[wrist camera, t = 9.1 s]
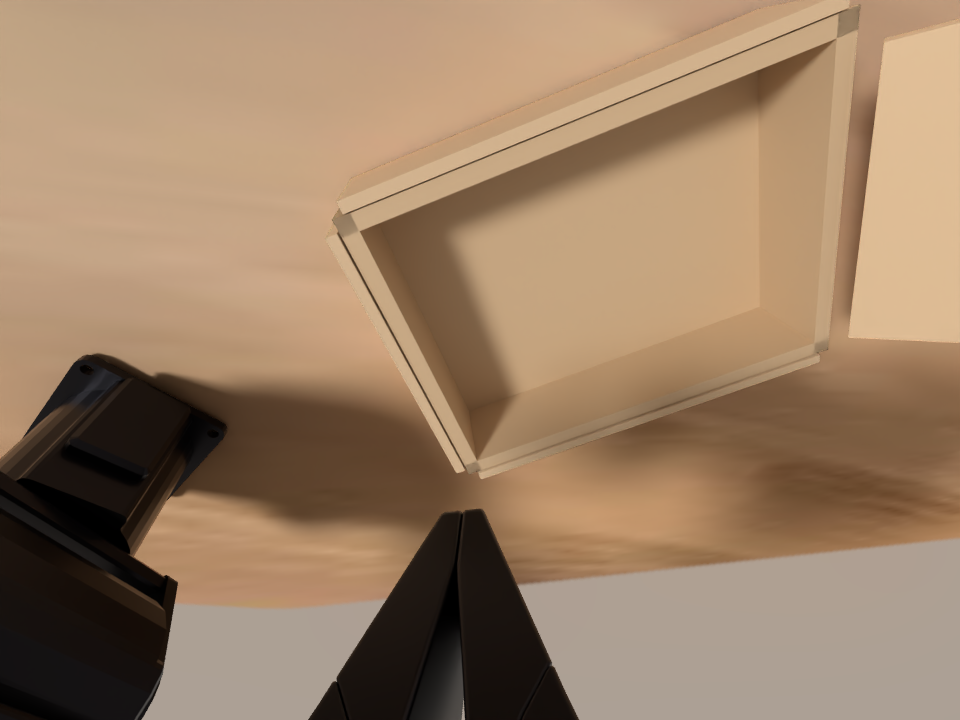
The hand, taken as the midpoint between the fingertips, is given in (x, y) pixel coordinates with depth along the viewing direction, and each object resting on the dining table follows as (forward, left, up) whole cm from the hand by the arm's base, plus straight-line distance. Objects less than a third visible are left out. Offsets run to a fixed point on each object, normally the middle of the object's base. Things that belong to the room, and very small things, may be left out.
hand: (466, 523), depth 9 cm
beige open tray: (+5, -4, -12) cm, 14 cm away
